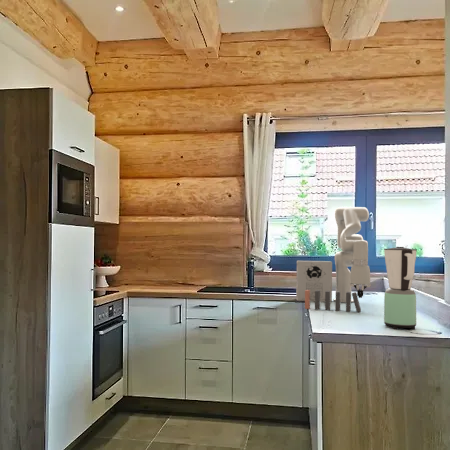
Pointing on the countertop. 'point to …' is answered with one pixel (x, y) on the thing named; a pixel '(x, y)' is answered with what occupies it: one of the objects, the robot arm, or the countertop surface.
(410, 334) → the countertop surface
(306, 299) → the domino
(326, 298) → the domino
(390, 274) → the juicer
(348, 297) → the domino
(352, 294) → the domino
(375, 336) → the countertop surface
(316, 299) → the domino
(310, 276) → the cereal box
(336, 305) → the domino
